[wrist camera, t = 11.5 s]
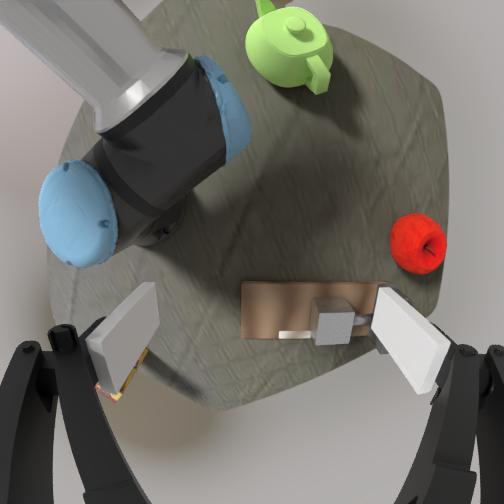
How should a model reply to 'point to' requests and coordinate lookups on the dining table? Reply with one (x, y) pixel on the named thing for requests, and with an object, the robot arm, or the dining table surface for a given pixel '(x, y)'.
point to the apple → (417, 243)
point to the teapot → (290, 47)
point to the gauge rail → (303, 307)
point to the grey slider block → (334, 321)
